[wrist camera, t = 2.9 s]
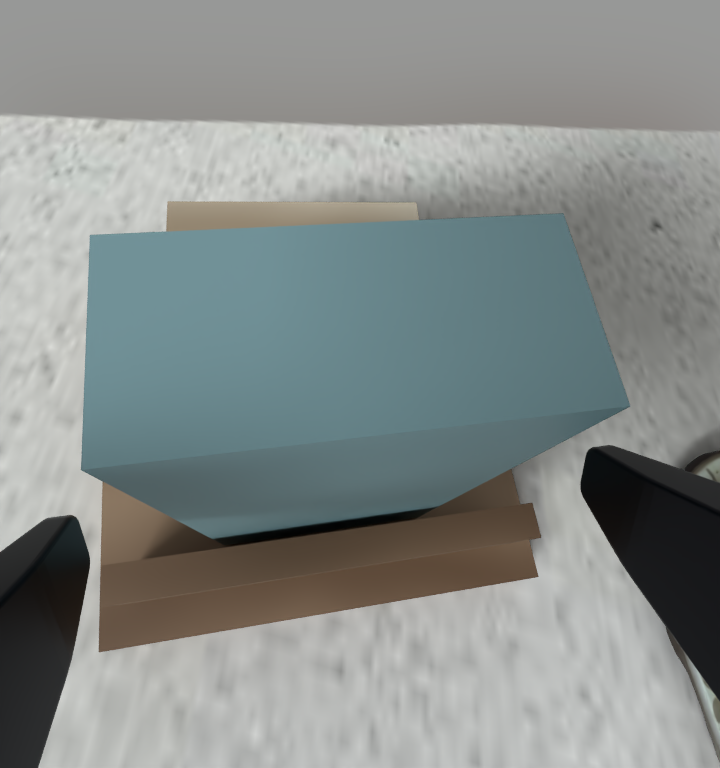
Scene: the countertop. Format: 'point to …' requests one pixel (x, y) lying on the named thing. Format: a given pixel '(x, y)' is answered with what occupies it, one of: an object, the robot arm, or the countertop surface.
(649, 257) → the countertop surface
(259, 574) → the rack
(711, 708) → the salad plate
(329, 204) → the offcut top
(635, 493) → the robot arm
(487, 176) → the countertop surface
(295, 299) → the pale teal tall slab
